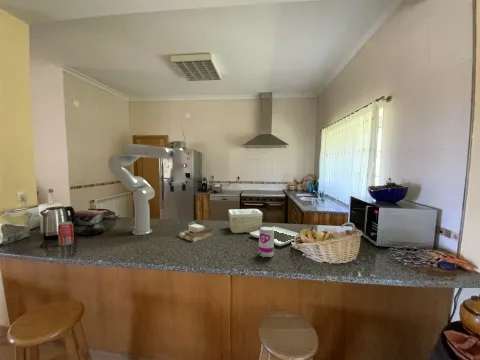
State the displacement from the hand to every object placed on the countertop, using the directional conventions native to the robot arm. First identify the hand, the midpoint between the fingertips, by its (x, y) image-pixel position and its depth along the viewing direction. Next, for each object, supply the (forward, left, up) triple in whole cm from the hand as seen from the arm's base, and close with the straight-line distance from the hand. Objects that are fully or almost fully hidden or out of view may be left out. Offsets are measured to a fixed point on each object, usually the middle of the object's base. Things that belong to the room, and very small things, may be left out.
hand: (178, 191), depth 154 cm
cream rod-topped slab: (+14, +5, -28) cm, 31 cm away
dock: (+12, +5, -30) cm, 33 cm away
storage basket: (+29, +39, -31) cm, 58 cm away
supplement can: (+66, +9, -31) cm, 73 cm away
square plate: (+57, +38, -31) cm, 75 cm away
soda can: (-34, -55, -31) cm, 71 cm away
